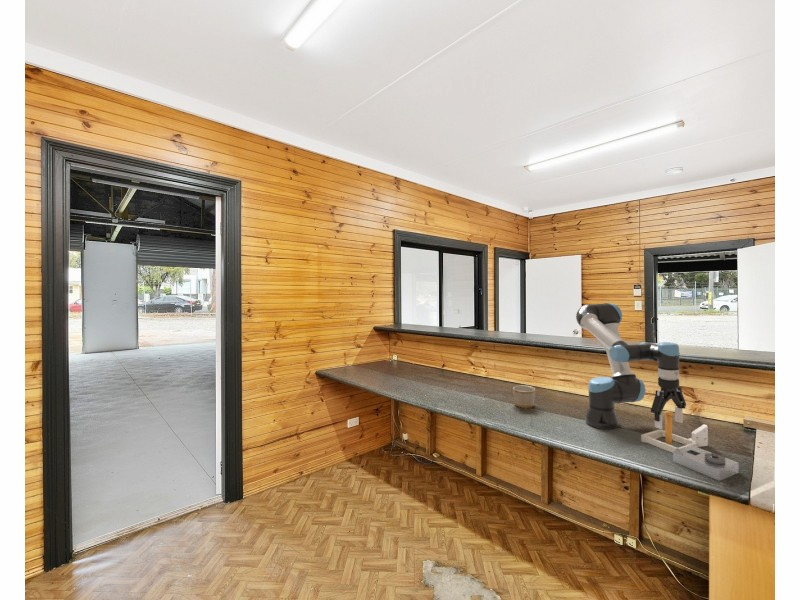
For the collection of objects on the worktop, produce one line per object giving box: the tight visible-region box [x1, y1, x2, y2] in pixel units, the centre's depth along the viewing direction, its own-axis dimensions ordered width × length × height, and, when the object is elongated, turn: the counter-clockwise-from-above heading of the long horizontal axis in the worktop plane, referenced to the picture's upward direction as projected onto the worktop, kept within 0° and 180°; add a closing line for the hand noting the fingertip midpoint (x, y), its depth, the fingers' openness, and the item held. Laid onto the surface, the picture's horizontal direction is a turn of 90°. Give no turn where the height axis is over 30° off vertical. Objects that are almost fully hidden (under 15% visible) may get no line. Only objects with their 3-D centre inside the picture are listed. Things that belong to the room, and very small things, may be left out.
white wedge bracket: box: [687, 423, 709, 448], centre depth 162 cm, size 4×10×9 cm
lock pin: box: [663, 410, 674, 446], centre depth 163 cm, size 3×3×15 cm
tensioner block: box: [672, 445, 740, 482], centre depth 144 cm, size 16×12×8 cm
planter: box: [512, 384, 536, 409], centre depth 222 cm, size 13×13×10 cm
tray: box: [640, 428, 699, 454], centre depth 163 cm, size 16×13×4 cm
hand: (668, 425), depth 163 cm, fingers open, 13 cm apart
